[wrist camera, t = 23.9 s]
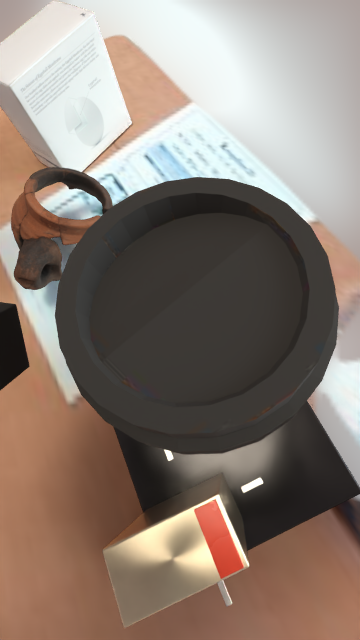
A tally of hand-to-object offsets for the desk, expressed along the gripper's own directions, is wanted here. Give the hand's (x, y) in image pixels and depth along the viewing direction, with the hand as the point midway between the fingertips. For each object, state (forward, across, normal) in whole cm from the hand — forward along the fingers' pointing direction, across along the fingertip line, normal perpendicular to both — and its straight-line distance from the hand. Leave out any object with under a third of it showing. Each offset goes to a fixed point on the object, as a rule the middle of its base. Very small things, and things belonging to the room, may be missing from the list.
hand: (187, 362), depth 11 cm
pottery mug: (+19, -16, -2) cm, 25 cm away
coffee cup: (+10, 0, -8) cm, 12 cm away
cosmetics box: (+29, -19, +8) cm, 36 cm away
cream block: (+4, 0, -14) cm, 14 cm away
